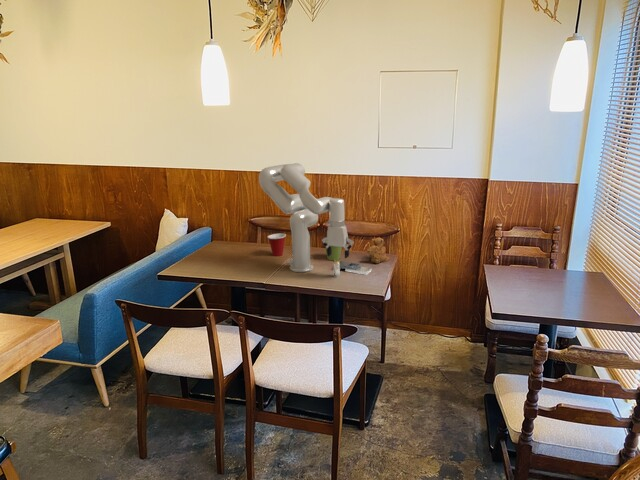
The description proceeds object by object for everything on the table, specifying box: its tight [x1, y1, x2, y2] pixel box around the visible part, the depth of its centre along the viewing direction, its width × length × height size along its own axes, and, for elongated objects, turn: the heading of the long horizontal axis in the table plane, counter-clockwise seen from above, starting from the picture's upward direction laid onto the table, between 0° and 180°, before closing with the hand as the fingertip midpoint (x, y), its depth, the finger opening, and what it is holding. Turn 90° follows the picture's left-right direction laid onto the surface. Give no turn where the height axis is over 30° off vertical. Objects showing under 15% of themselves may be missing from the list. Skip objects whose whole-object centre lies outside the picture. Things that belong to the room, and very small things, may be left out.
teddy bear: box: [366, 237, 390, 264], centre depth 270 cm, size 10×14×13 cm
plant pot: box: [324, 240, 343, 262], centre depth 275 cm, size 12×12×11 cm
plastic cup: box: [267, 233, 287, 257], centre depth 283 cm, size 11×11×12 cm
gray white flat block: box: [339, 260, 373, 276], centre depth 257 cm, size 18×7×3 cm, turn 62°
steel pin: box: [333, 260, 341, 278], centre depth 248 cm, size 3×3×8 cm
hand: (338, 256), depth 245 cm, fingers open, 9 cm apart
